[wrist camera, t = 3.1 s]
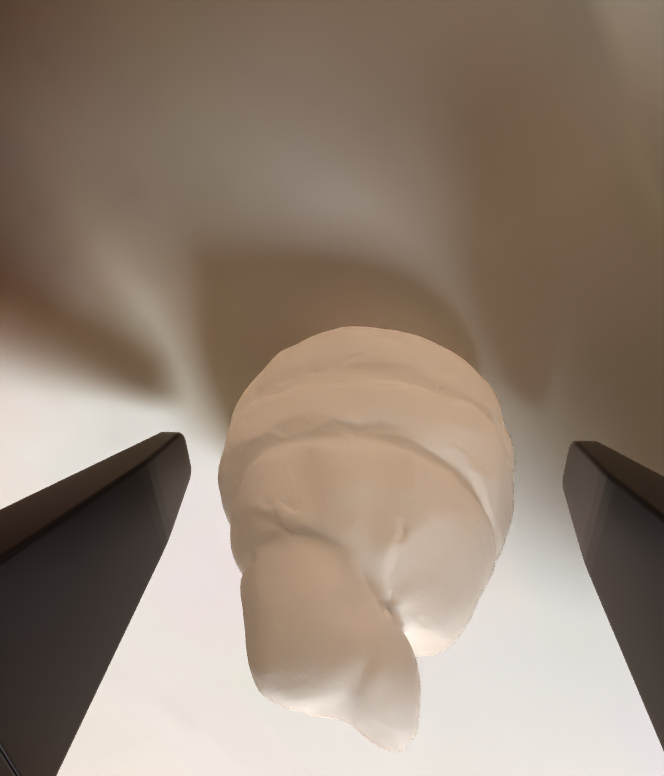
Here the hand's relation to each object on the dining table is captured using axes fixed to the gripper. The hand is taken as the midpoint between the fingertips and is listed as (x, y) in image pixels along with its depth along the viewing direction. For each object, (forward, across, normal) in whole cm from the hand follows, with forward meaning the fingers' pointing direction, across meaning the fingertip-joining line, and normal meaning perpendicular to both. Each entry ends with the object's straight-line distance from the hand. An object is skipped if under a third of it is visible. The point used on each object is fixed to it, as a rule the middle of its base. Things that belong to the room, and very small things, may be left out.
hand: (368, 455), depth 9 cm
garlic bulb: (+2, 0, 0) cm, 2 cm away
